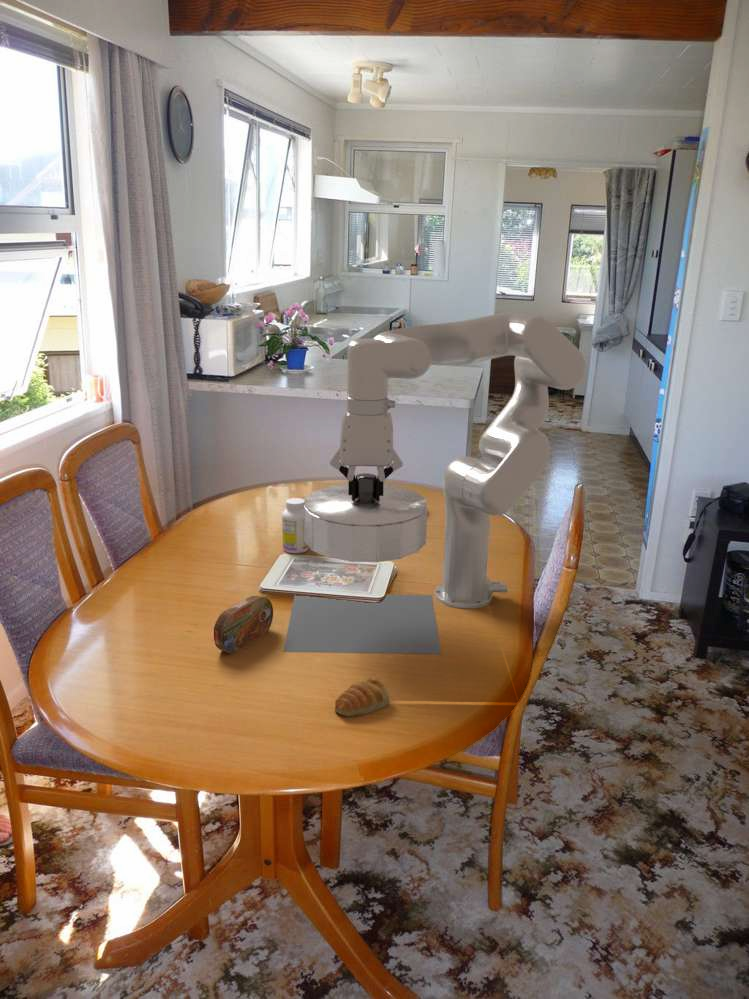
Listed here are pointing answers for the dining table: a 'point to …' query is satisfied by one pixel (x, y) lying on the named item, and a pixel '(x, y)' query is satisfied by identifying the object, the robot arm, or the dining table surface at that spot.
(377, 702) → the pastry
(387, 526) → the lidded metal pot
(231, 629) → the tin
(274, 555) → the dining table surface
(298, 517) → the supplement bottle
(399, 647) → the rubber mat
